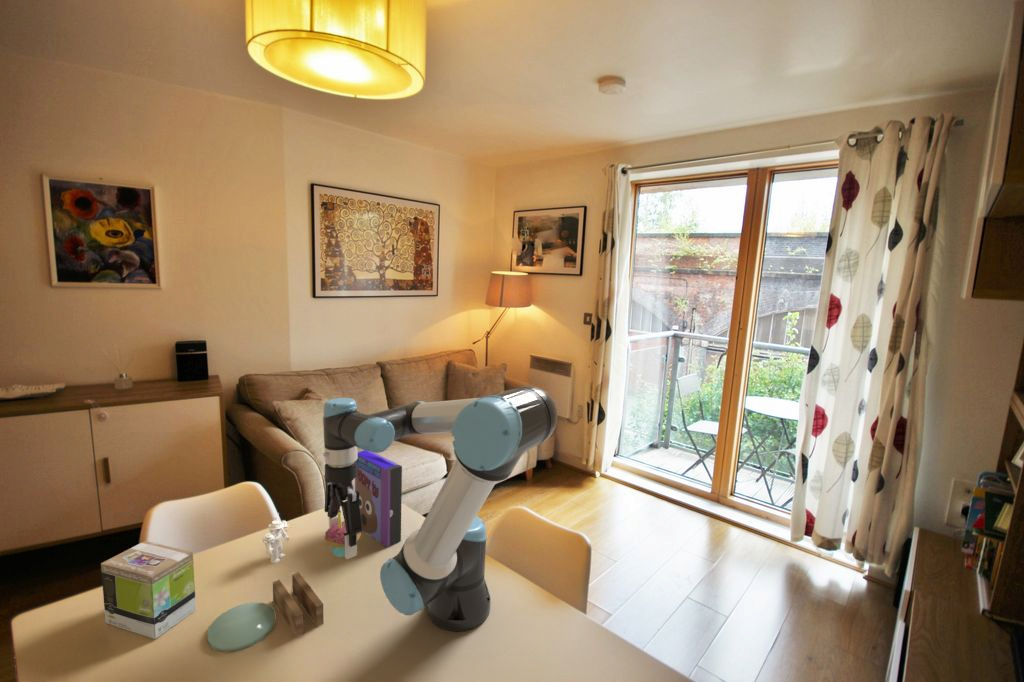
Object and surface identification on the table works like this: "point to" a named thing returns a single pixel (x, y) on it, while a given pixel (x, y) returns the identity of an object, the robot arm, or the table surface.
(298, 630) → the rail
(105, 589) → the tea box
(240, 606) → the plate
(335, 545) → the cupcake
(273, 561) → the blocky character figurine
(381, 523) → the cereal box
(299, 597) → the brown flat block
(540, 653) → the table surface
